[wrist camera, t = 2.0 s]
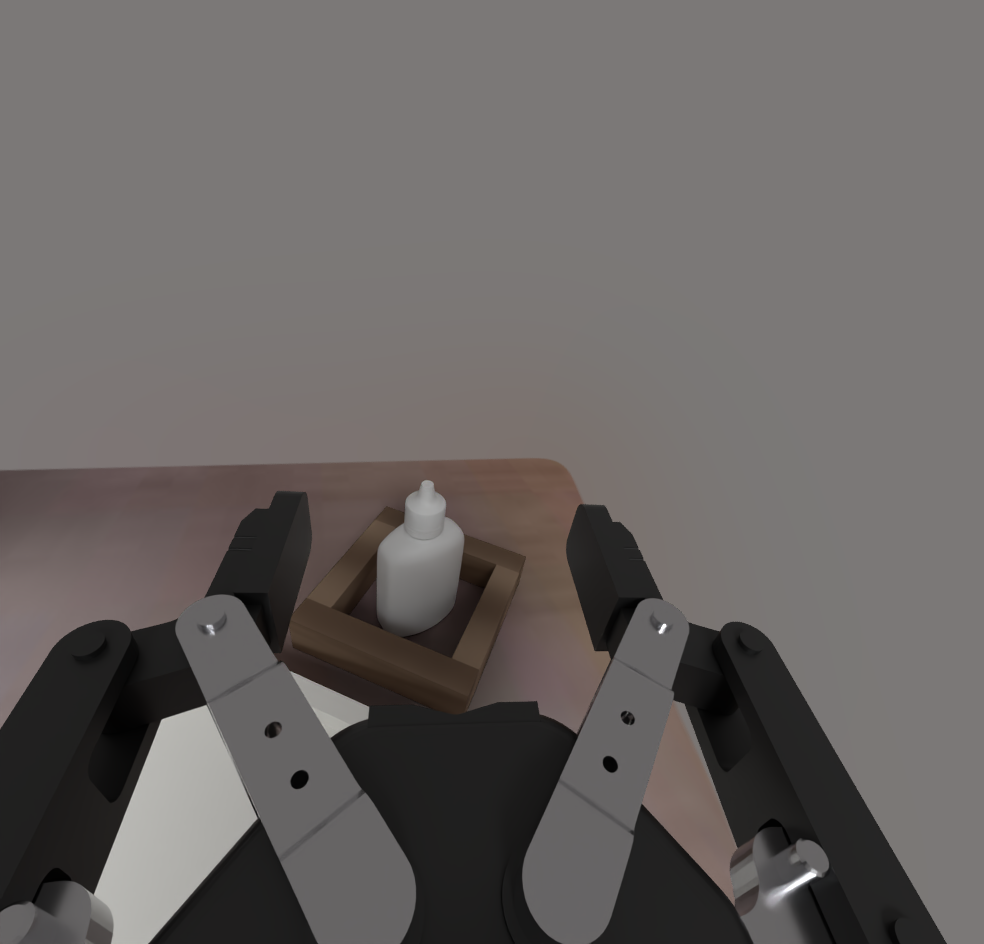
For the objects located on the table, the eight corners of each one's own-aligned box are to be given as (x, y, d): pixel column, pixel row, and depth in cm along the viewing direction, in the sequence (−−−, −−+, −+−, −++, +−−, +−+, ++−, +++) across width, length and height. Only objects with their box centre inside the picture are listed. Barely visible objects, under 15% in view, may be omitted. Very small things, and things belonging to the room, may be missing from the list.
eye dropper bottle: (378, 589, 36) (379, 459, 29) (453, 588, 37) (471, 463, 30) (375, 640, 32) (375, 508, 25) (457, 638, 33) (479, 510, 26)
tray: (237, 1235, 15) (222, 1247, 13) (-132, 964, 18) (-177, 951, 17) (437, 760, 27) (441, 739, 25) (192, 646, 30) (183, 622, 28)
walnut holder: (462, 722, 29) (468, 696, 27) (292, 647, 31) (287, 619, 29) (519, 582, 38) (526, 556, 36) (386, 532, 40) (386, 506, 39)
